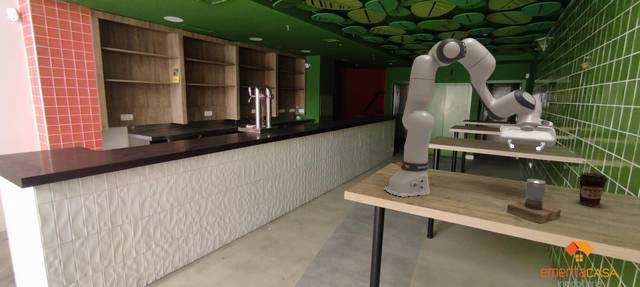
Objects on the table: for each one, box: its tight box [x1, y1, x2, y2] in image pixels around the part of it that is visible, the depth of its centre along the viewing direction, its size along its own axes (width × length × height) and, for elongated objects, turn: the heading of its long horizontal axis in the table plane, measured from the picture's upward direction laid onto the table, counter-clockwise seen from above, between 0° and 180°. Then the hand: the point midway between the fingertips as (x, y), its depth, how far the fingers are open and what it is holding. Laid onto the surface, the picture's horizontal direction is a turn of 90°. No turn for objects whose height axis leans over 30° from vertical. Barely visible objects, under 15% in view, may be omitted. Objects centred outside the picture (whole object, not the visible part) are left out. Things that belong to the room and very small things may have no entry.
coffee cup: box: [578, 172, 608, 208], centre depth 119 cm, size 9×8×13 cm
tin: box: [524, 178, 546, 210], centre depth 110 cm, size 6×6×10 cm
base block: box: [506, 199, 562, 224], centre depth 111 cm, size 12×12×3 cm
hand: (524, 150), depth 123 cm, fingers open, 8 cm apart
